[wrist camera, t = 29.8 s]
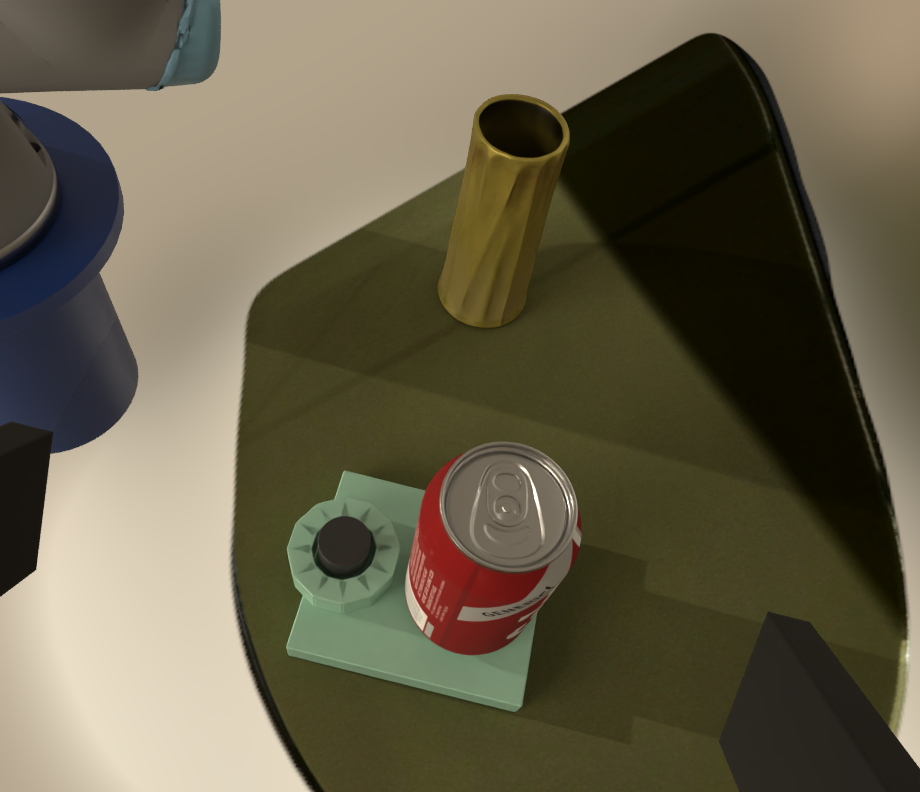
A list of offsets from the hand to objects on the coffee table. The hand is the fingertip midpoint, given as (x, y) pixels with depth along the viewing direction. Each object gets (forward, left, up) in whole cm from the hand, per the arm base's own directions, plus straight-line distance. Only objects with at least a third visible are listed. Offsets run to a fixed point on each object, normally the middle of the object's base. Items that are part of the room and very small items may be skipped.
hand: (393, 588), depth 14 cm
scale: (+1, +9, -28) cm, 29 cm away
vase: (0, +30, -28) cm, 41 cm away
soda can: (+3, +9, -26) cm, 28 cm away
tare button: (-4, +9, -25) cm, 26 cm away
